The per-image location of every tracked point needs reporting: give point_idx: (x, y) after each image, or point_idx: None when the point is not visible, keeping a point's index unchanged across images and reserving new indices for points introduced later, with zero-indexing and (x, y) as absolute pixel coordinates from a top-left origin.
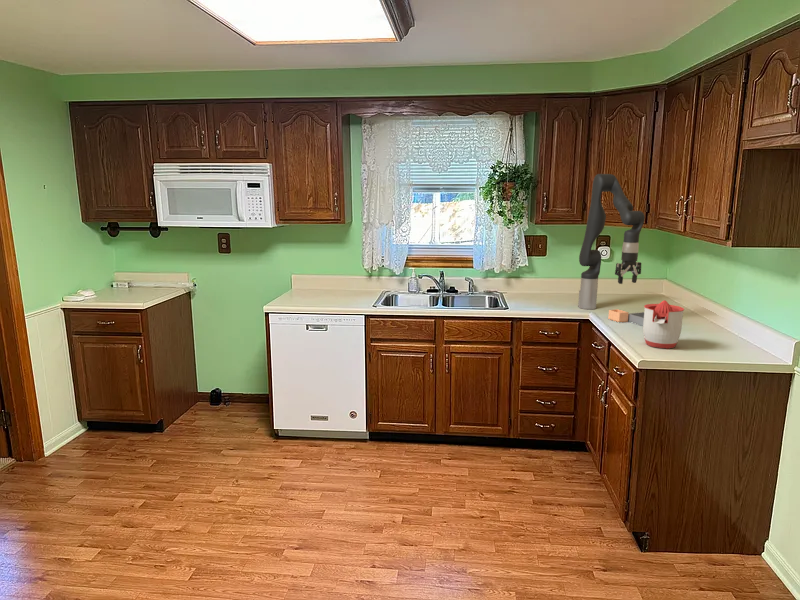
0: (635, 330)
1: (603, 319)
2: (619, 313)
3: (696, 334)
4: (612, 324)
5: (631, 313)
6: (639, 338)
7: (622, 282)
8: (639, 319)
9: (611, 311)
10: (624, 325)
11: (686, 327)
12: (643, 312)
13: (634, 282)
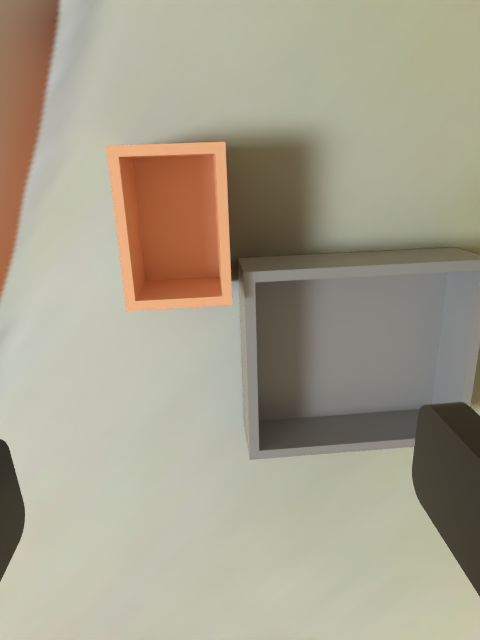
0: (116, 491)
1: (79, 136)
2: (127, 306)
3: (387, 614)
4: (54, 318)
5: (283, 278)
6: (24, 625)
7: (9, 555)
8: (246, 402)
9: (113, 188)
10: (129, 366)
11: None
12: (418, 272)
13: (417, 481)
